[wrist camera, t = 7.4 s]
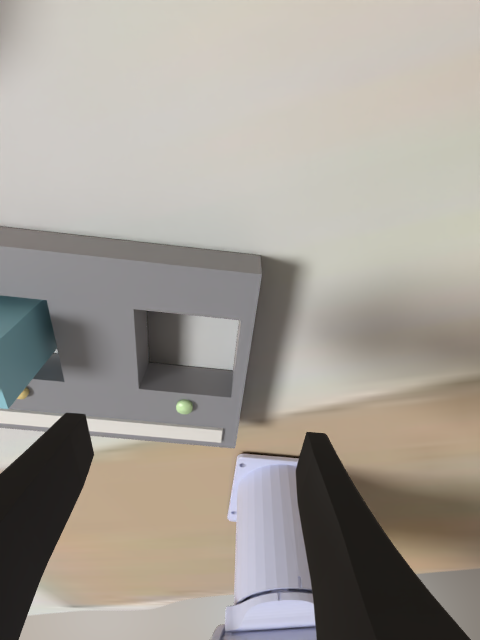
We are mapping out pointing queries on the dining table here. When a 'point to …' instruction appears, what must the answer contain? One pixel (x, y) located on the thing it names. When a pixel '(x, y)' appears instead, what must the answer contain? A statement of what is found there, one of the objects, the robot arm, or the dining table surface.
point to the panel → (129, 335)
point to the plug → (22, 344)
